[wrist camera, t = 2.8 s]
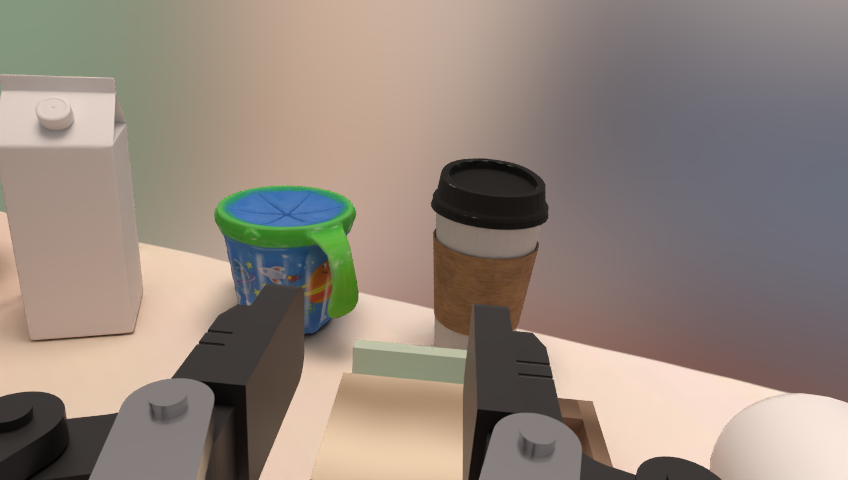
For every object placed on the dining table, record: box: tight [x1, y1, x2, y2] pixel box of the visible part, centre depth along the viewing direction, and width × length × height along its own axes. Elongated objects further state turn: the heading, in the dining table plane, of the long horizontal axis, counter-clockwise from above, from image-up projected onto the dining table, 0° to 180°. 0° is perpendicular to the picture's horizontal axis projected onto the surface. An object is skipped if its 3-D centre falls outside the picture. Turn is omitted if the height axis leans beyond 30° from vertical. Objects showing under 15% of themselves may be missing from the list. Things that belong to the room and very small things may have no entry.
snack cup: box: [214, 186, 358, 334], centre depth 51 cm, size 16×10×10 cm
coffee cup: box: [431, 159, 548, 350], centre depth 47 cm, size 8×8×15 cm
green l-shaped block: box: [352, 339, 467, 384], centre depth 38 cm, size 9×8×5 cm
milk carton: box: [0, 74, 143, 340], centre depth 47 cm, size 7×7×19 cm
